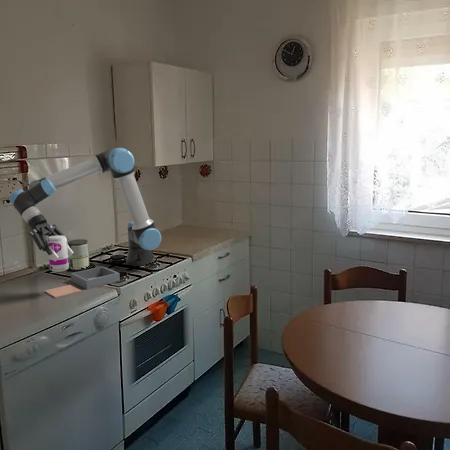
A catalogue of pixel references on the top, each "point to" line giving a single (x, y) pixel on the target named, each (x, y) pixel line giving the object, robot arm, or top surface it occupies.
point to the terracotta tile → (62, 291)
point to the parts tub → (108, 278)
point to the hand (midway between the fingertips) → (64, 256)
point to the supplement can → (59, 253)
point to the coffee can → (79, 254)
